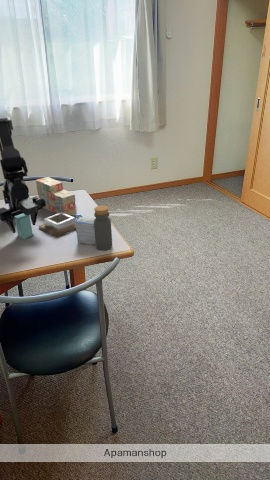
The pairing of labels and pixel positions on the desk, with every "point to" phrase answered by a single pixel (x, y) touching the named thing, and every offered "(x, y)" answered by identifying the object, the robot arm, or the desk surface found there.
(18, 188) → the robot arm
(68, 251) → the desk surface
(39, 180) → the stack of blocks
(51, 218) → the frame
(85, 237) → the medicine box
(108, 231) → the bottle
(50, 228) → the base board
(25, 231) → the teal block
